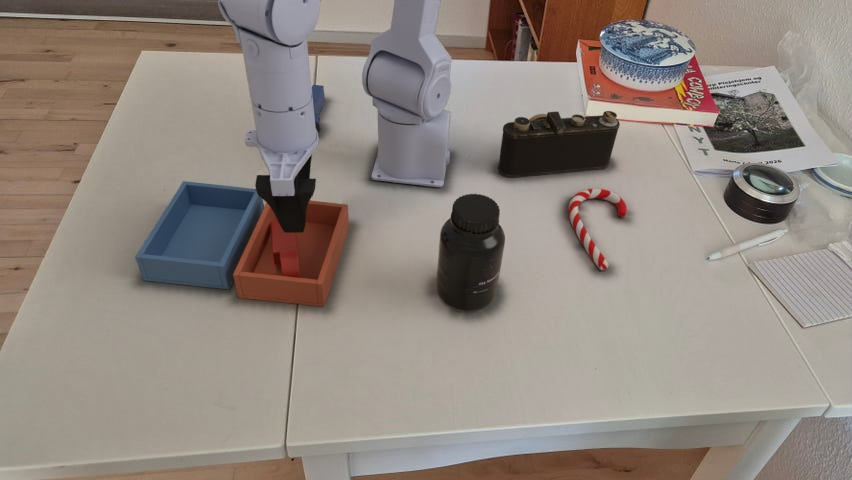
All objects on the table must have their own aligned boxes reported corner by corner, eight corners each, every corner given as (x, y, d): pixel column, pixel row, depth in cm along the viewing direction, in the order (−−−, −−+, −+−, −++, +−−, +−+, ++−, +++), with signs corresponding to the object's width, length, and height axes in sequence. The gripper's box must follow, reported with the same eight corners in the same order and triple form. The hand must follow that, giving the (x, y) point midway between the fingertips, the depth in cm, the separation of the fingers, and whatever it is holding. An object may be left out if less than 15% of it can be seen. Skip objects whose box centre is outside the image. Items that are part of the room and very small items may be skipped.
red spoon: (296, 239, 79) (274, 241, 79) (292, 210, 77) (269, 212, 76) (302, 291, 71) (277, 294, 71) (298, 260, 69) (272, 263, 68)
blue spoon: (306, 99, 100) (304, 83, 98) (332, 102, 100) (331, 86, 98) (288, 136, 93) (286, 120, 91) (316, 139, 93) (315, 123, 91)
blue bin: (265, 212, 81) (261, 189, 79) (229, 289, 72) (223, 266, 69) (189, 203, 81) (183, 180, 79) (143, 280, 72) (134, 256, 69)
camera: (595, 143, 99) (607, 95, 93) (613, 170, 94) (627, 121, 89) (489, 152, 94) (494, 102, 89) (502, 181, 90) (509, 130, 84)
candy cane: (577, 262, 78) (566, 184, 89) (575, 270, 79) (564, 191, 90) (642, 266, 78) (623, 188, 89) (639, 274, 79) (621, 196, 90)
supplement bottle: (490, 319, 72) (503, 236, 64) (429, 306, 73) (433, 222, 64) (501, 276, 77) (514, 194, 69) (444, 264, 78) (450, 181, 69)
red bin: (349, 226, 81) (348, 204, 78) (324, 307, 71) (321, 284, 69) (273, 218, 81) (269, 195, 78) (238, 297, 71) (232, 274, 69)
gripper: (247, 58, 68) (265, 167, 78) (227, 139, 58) (250, 253, 67) (318, 60, 69) (327, 167, 79) (310, 139, 59) (322, 251, 68)
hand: (296, 207), depth 73 cm, fingers open, 7 cm apart
